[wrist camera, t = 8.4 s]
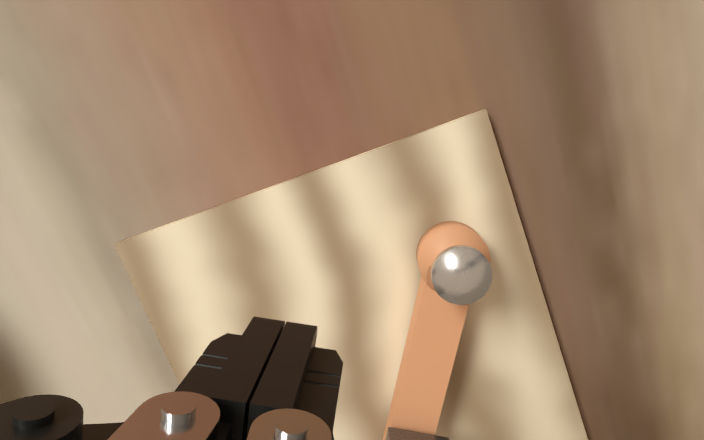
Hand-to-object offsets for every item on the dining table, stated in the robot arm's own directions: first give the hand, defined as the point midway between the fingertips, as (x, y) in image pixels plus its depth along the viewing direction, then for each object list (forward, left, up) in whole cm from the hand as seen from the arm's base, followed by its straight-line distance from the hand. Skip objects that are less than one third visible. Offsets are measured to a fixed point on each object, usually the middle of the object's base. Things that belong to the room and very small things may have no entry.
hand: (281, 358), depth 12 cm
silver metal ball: (-6, +6, -20) cm, 22 cm away
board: (+2, +12, -23) cm, 26 cm away
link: (-2, +12, -22) cm, 25 cm away
